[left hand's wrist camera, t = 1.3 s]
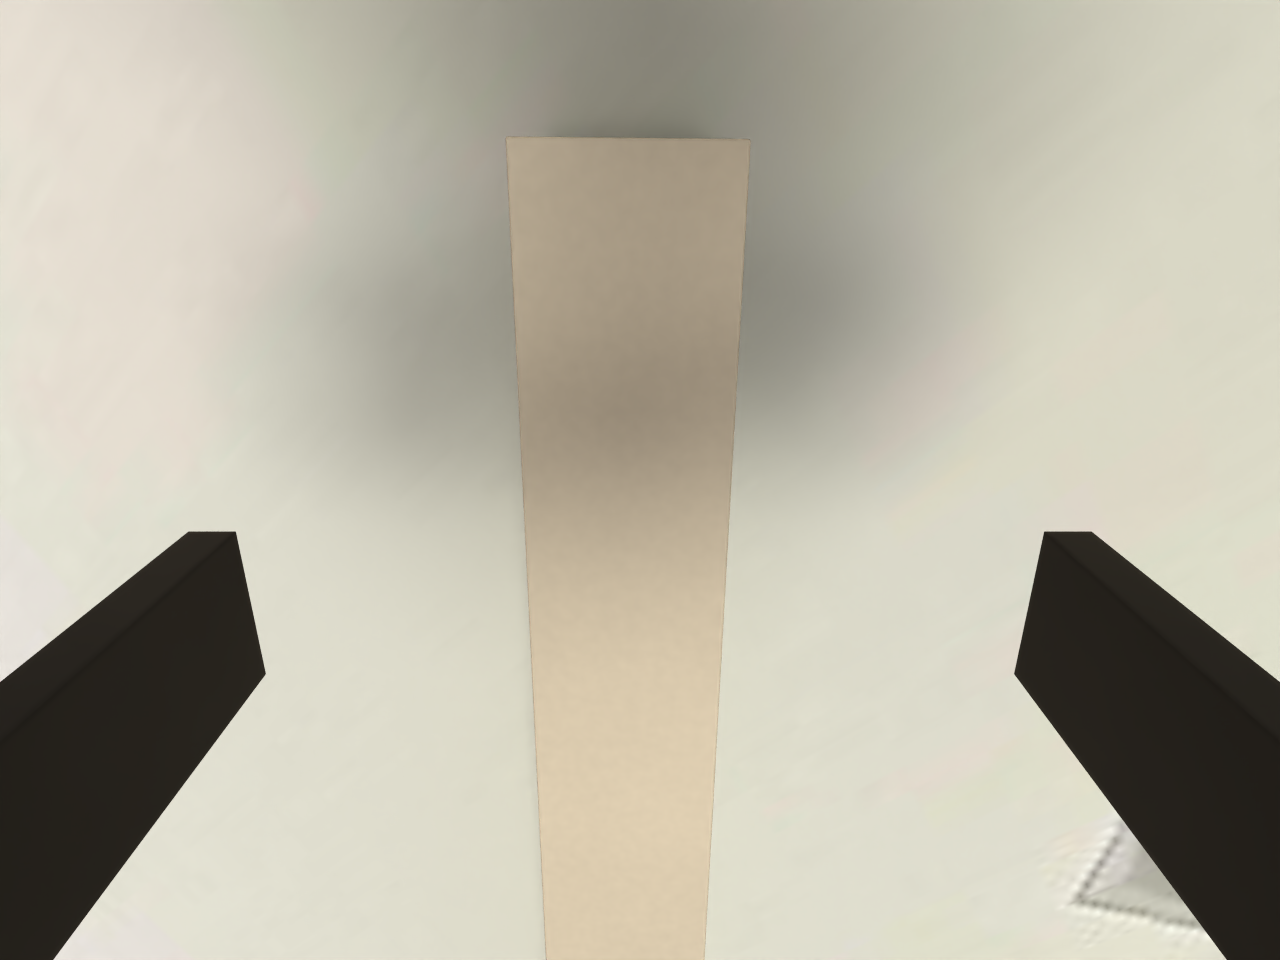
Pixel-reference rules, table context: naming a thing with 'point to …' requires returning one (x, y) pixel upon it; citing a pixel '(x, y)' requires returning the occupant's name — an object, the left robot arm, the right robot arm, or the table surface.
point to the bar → (626, 519)
